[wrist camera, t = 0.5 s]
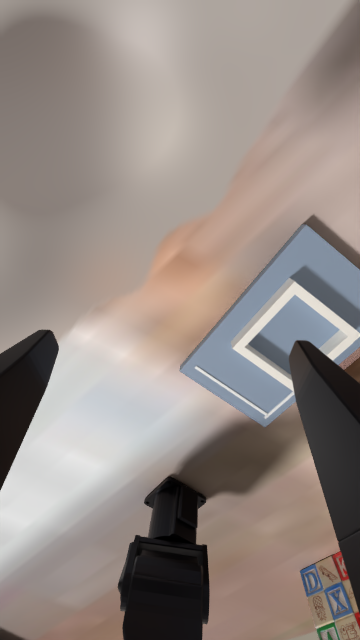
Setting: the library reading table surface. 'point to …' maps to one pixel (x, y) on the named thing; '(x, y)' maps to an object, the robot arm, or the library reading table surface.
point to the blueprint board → (280, 327)
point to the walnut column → (354, 370)
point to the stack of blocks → (331, 599)
